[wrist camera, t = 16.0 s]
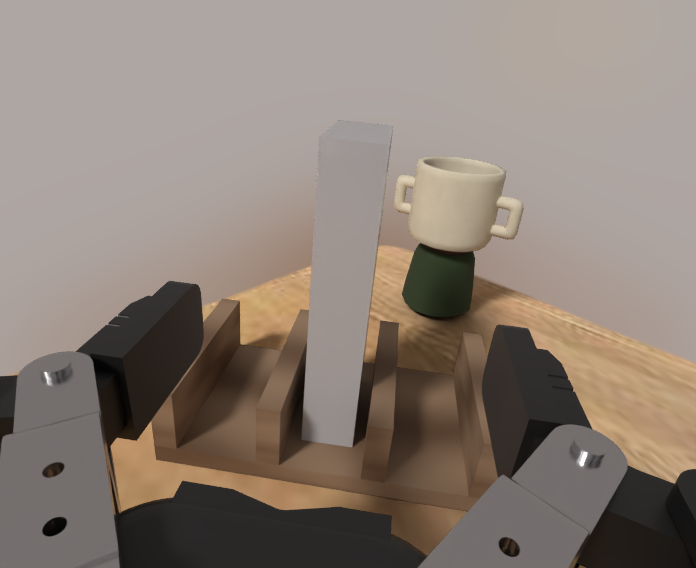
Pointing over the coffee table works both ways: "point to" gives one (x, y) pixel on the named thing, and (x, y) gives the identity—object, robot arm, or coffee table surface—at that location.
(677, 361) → the coffee table surface
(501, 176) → the character mug
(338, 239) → the clay strip
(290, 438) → the drying rack
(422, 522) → the coffee table surface
